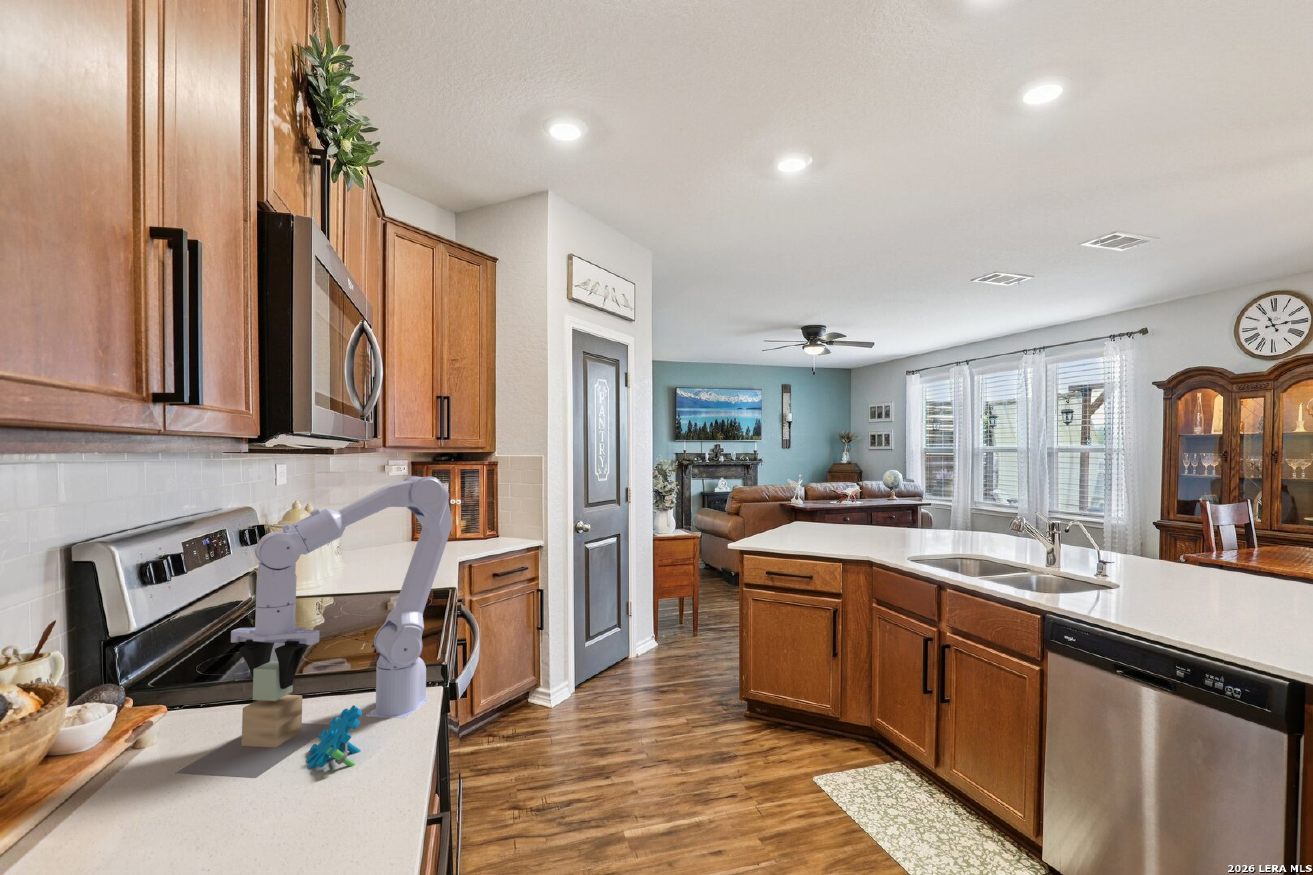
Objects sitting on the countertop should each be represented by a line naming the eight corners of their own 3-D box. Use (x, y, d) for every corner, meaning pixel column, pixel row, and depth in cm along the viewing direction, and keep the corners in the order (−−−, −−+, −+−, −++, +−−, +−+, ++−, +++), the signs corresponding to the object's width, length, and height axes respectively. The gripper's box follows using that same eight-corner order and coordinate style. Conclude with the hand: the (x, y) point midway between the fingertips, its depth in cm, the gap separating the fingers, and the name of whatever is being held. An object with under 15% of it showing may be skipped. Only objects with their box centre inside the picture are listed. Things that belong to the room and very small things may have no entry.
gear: (304, 741, 97) (354, 692, 100) (333, 761, 99) (381, 711, 102) (299, 783, 87) (355, 727, 90) (331, 803, 89) (385, 748, 92)
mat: (265, 724, 107) (265, 721, 107) (334, 728, 106) (334, 724, 106) (174, 776, 89) (174, 772, 89) (255, 781, 88) (256, 777, 88)
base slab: (268, 729, 104) (269, 711, 104) (301, 731, 103) (301, 713, 103) (241, 745, 98) (242, 726, 98) (275, 747, 97) (276, 728, 97)
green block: (270, 690, 103) (271, 660, 103) (292, 691, 102) (293, 661, 103) (252, 699, 99) (253, 668, 99) (275, 700, 98) (276, 669, 99)
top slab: (269, 711, 104) (270, 693, 104) (301, 713, 103) (302, 695, 103) (242, 726, 98) (242, 707, 98) (276, 728, 97) (276, 709, 97)
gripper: (216, 608, 98) (214, 693, 98) (299, 610, 97) (297, 697, 96) (250, 598, 105) (247, 678, 105) (328, 601, 104) (326, 681, 103)
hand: (273, 686), depth 101 cm, fingers closed on green block, 4 cm apart
